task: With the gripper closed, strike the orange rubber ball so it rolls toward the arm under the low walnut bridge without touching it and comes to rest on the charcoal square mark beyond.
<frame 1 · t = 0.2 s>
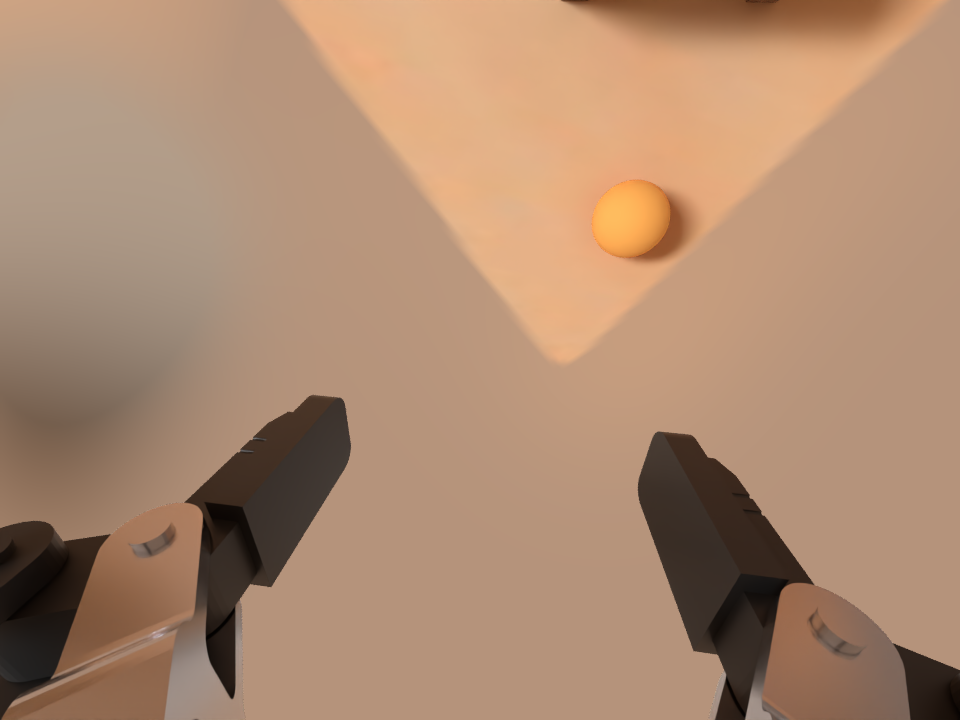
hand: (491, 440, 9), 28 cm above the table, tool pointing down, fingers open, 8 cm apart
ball: (629, 220, 30), on the table
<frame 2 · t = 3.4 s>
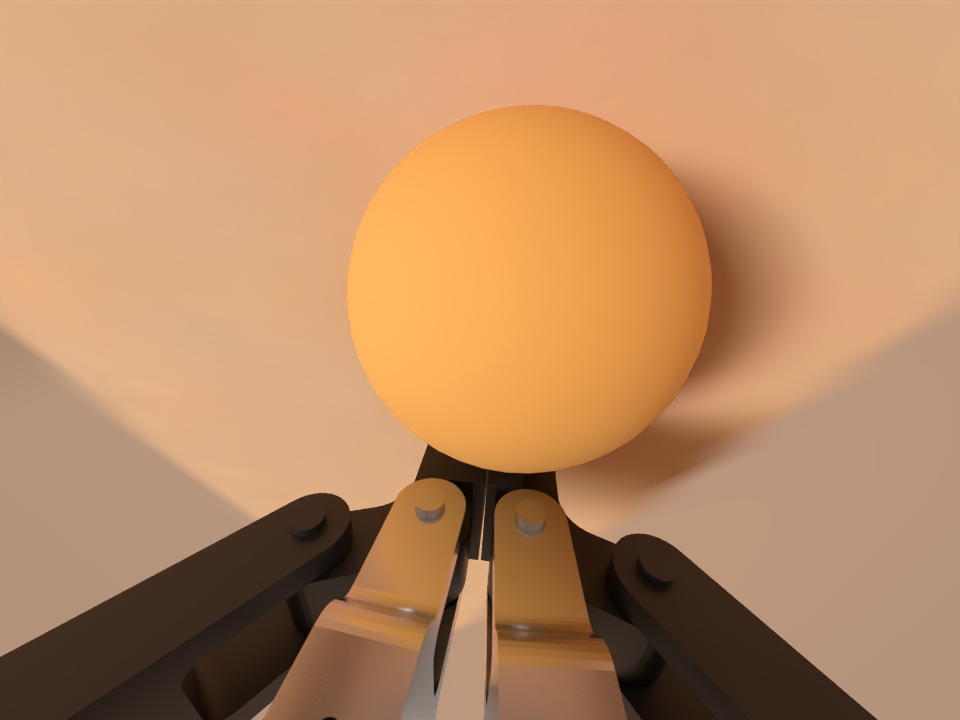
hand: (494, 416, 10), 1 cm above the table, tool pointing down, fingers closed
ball: (519, 303, 7), on the table, touching gripper
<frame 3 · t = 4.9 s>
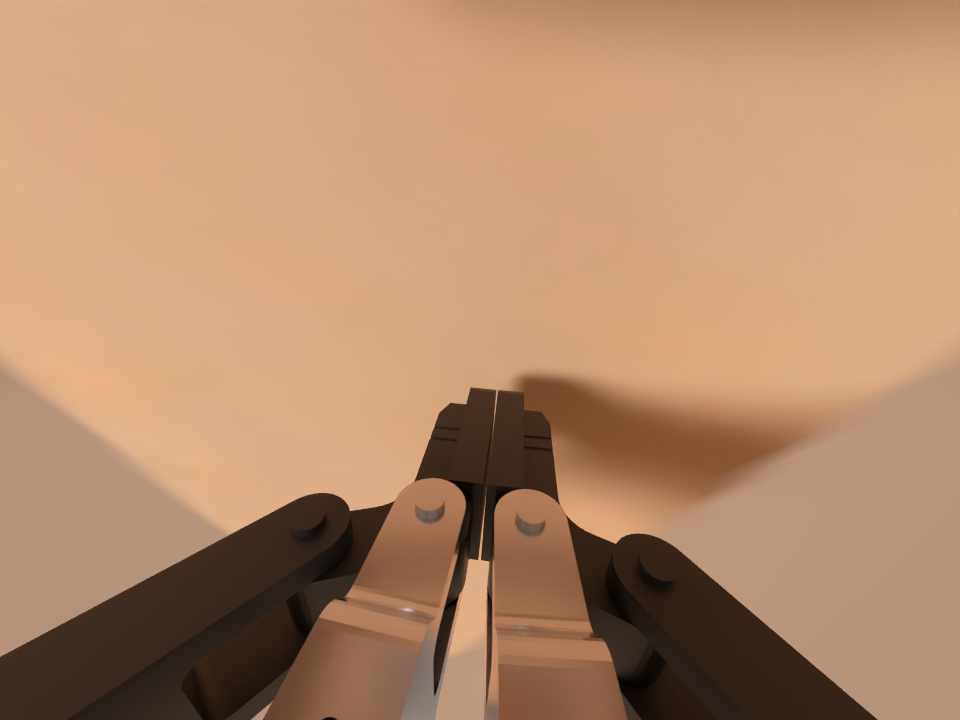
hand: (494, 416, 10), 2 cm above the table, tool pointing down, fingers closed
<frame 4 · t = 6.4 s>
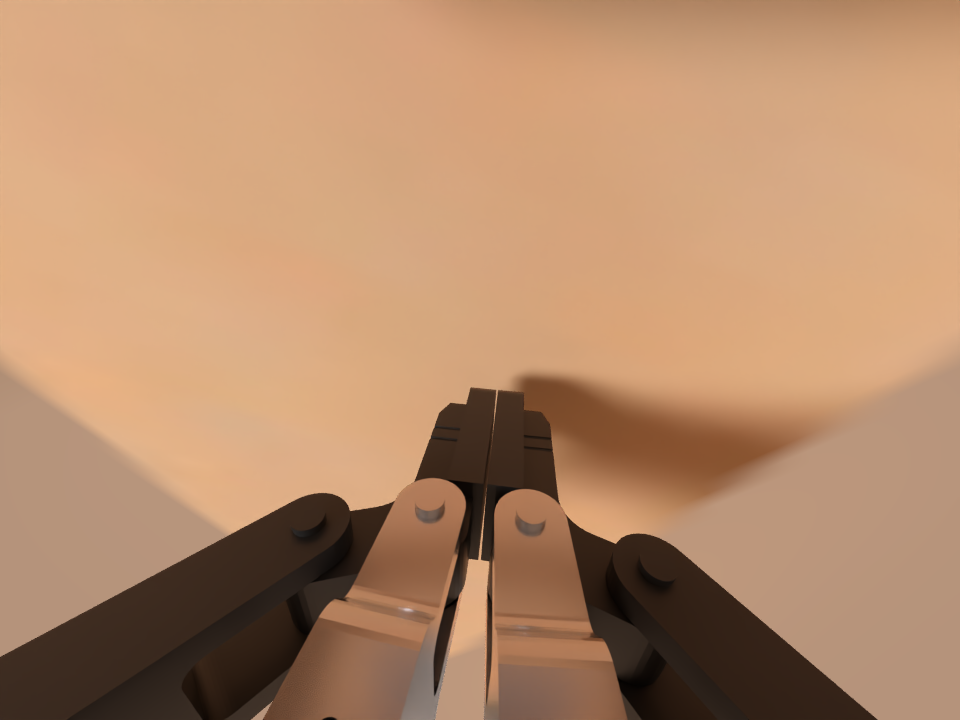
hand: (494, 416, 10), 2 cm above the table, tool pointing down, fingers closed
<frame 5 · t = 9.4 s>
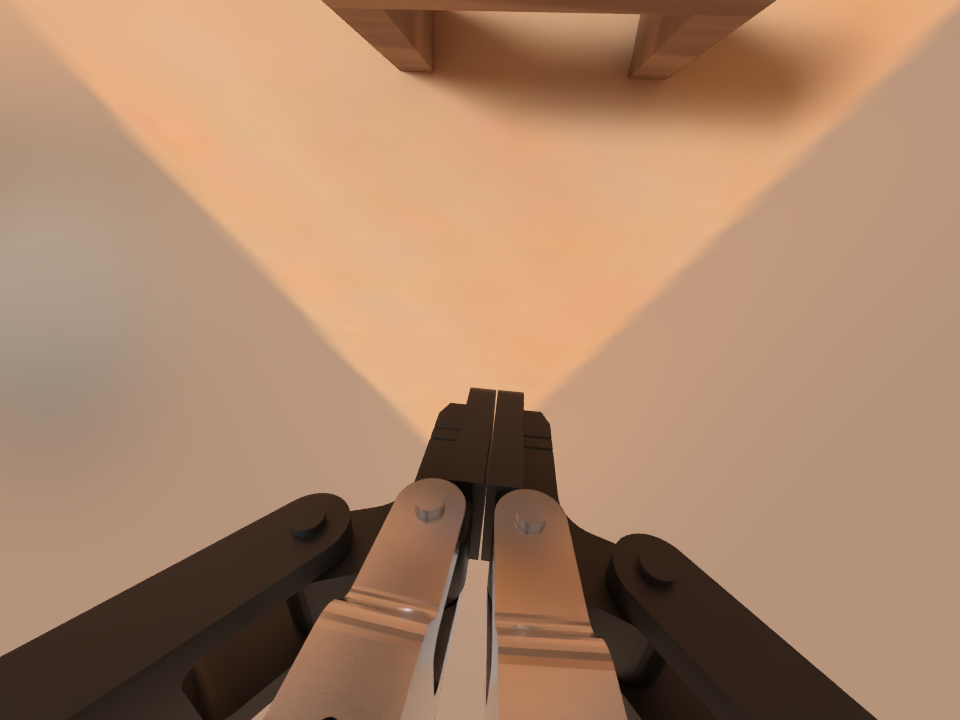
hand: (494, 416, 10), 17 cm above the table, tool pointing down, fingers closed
bridge: (532, 40, 20), on the table
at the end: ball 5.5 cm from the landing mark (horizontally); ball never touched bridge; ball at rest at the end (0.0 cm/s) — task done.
